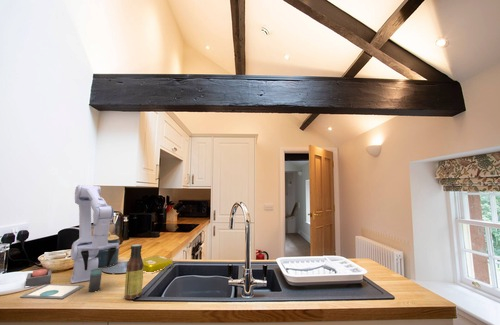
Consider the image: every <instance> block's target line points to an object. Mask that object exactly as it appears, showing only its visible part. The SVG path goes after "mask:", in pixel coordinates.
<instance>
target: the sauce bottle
mask: <svg viewBox="0 0 500 325" xmlns="http://www.w3.org/2000/svg"><path fill="white" fill-rule="evenodd" d="M142 248H143V245H142V244H140V243H137V244H135V243H134V244H132V245H131V246H130V256H129V257H130V258H128V260H127V263H126V271H125V282H124V292H123V293H124V298H125V299H126V298H127V299H126V300H128V299H133V298H135V297H137V296H140V295H141V296H142V292H143V279H144V272H143V266H144V265H143V261H142V259H143V258H142ZM141 296H140V297H141ZM133 300H134V299H133Z"/></svg>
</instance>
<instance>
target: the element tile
mask: <svg viewBox="0 0 500 325" xmlns="http://www.w3.org/2000/svg"><path fill="white" fill-rule="evenodd" d="M142 261H143V265H144V266H143V271H146V272H154V271H157V270H160V269H163V268H164V267H166V266H168V265H169V264H172V265H173V259H172V258H169V257H165V256H161V255H152V256H149V257H148V256H147V257H145V258H144V257H143V258H142Z"/></svg>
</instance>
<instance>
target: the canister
mask: <svg viewBox="0 0 500 325" xmlns="http://www.w3.org/2000/svg"><path fill="white" fill-rule="evenodd" d="M119 239H120V237H119V236H118V235H117V234H112V233H111V232H110V231H109V235H108V244H110V243H119V244H120V243H121V240H119ZM107 255H108V249H104V250H99V252H98V255H97V256H96V257H95V258H98V269H101V268H107V267H106V262H107ZM119 255H120V246H119V248H117V249H116V252H115V254H114V255H113V257H112V259H111V261H110V264H109V267H111V266H110V265H113V264H115V265H117V264H118V263H117V262H119ZM116 263H117V264H116ZM113 266H114V265H113Z"/></svg>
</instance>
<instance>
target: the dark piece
mask: <svg viewBox="0 0 500 325" xmlns="http://www.w3.org/2000/svg"><path fill="white" fill-rule="evenodd" d="M102 273H103V268H98V269H93V270H91V273H90V280H88V281H89V282H88V289H87V290H88V293H96V292H95V291H97V292H99V291H100V290H101V283H102ZM99 289H100V290H99ZM98 290H99V291H98Z"/></svg>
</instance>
